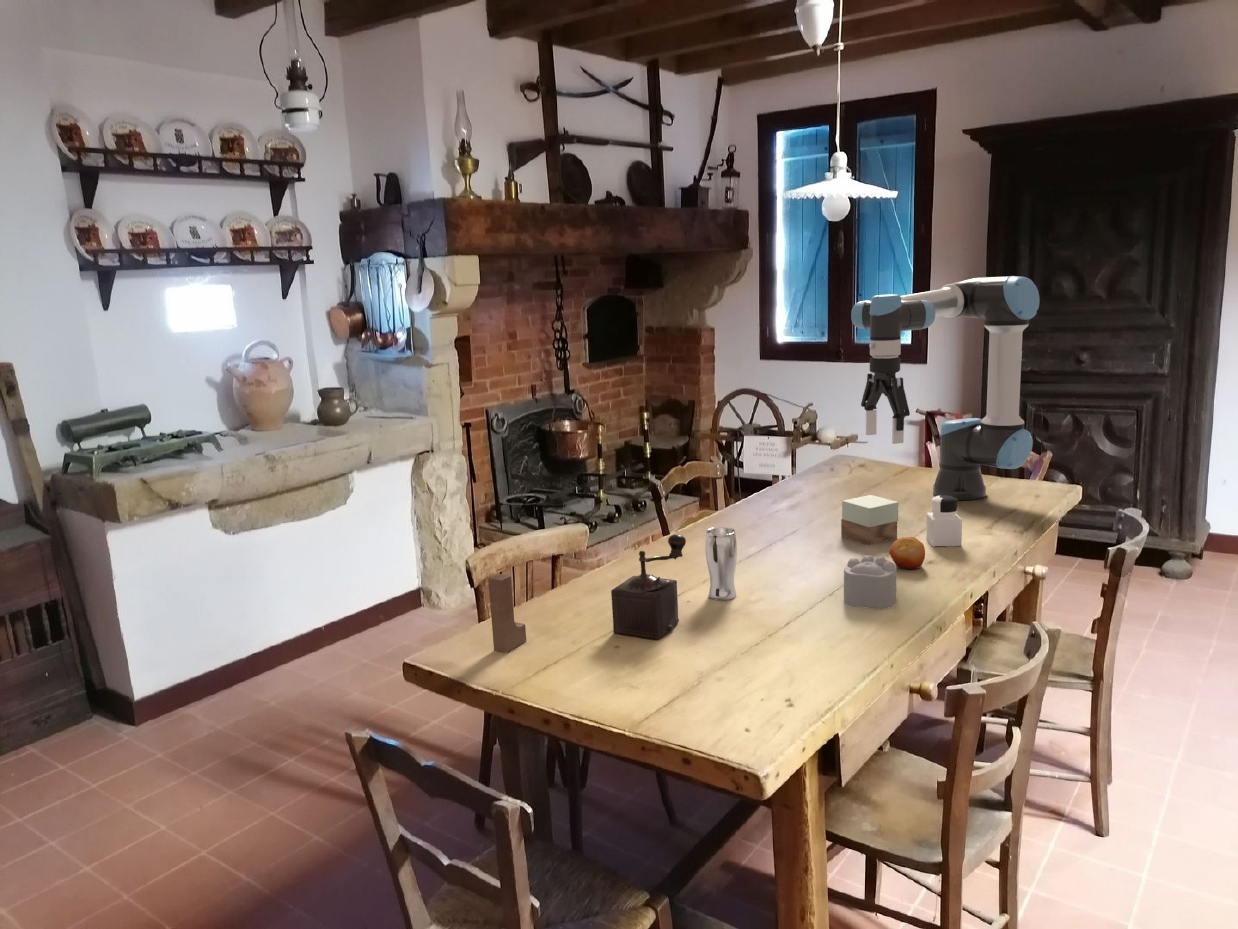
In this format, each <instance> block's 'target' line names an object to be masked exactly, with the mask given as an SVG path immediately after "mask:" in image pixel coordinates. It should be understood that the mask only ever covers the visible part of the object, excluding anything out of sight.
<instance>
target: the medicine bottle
mask: <svg viewBox="0 0 1238 929" xmlns="http://www.w3.org/2000/svg"><path fill="white" fill-rule="evenodd" d="M925 528H926V529H925V530H926V531H925V532H926V533H925V534H926V536H925V538H926V540H927V541H928V543H929V544H930V545H931V546H932V547H934V548H935V546H947V547H961V546H962V541H963V540H962V539H963V538H962V536H963V535H962V534H963V533H962V532H963V519H962V518H961V517H960V516H959V515H958V500H957V499H956V498H954V497H952V496H947V495H940V496H934V497H932V499H931V512H927V513H926V527H925Z"/></svg>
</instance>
